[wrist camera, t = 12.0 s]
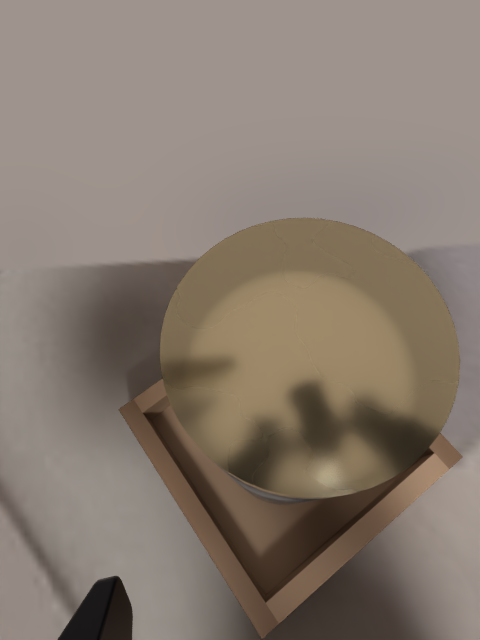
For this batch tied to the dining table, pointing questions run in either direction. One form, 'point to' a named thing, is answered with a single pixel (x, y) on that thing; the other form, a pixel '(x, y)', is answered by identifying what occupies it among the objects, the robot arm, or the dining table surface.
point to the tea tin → (309, 359)
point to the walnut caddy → (271, 515)
